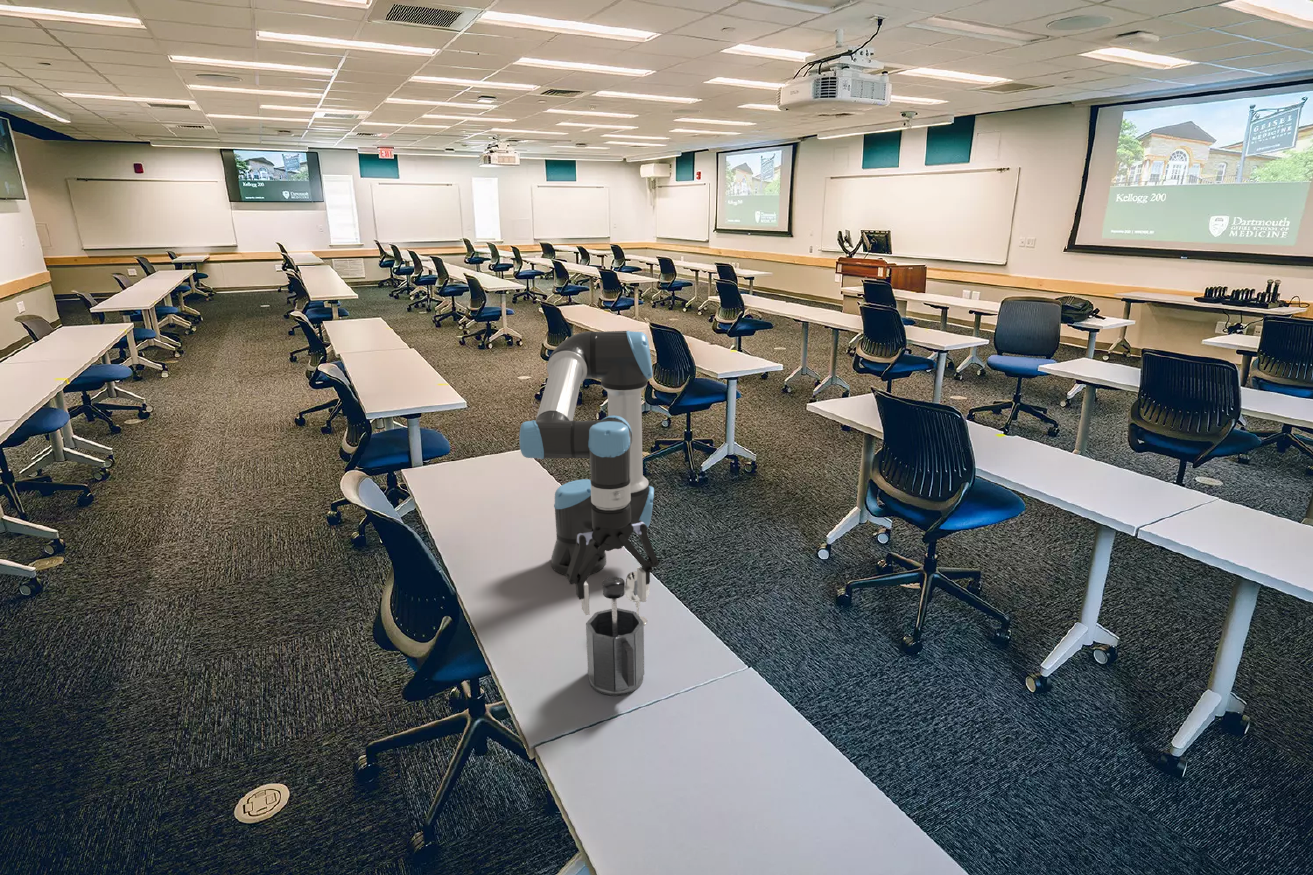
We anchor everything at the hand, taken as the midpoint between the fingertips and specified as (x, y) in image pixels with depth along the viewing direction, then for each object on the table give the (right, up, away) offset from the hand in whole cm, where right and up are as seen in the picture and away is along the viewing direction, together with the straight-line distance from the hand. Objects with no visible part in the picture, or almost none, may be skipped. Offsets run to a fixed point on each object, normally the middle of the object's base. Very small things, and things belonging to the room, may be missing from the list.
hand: (614, 605), depth 137 cm
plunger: (0, -15, +5) cm, 15 cm away
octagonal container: (+1, -17, +4) cm, 17 cm away
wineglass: (+4, -10, +25) cm, 28 cm away
